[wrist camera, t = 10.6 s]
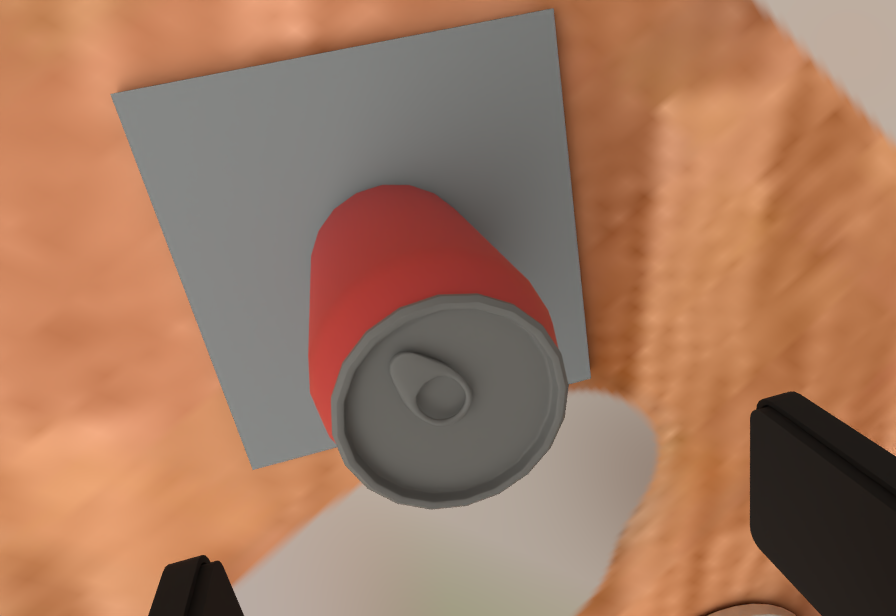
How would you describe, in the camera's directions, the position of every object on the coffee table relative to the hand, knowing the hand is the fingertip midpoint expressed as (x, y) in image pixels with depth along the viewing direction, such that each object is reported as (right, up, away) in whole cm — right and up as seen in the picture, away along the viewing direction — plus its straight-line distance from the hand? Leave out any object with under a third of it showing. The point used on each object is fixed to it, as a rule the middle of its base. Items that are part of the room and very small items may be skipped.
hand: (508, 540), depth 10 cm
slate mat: (-3, +6, +15) cm, 17 cm away
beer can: (-3, +6, +15) cm, 16 cm away
